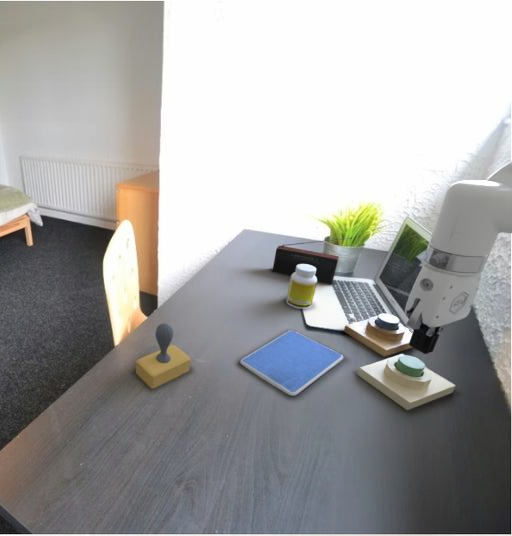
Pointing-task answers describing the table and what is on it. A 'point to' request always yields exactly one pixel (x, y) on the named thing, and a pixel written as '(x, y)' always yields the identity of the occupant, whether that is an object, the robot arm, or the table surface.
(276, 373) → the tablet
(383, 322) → the blue button
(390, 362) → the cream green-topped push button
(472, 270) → the robot arm
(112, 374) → the table surface
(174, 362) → the rubber stamp
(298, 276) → the pill bottle
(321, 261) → the radio
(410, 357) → the green button
